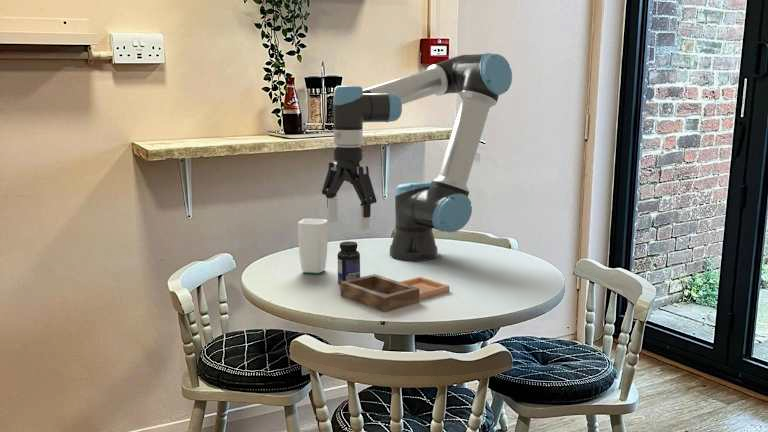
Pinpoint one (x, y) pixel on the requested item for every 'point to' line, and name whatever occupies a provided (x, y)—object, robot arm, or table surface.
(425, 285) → the tray
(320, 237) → the cup
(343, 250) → the pill bottle
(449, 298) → the table surface
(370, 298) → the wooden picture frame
